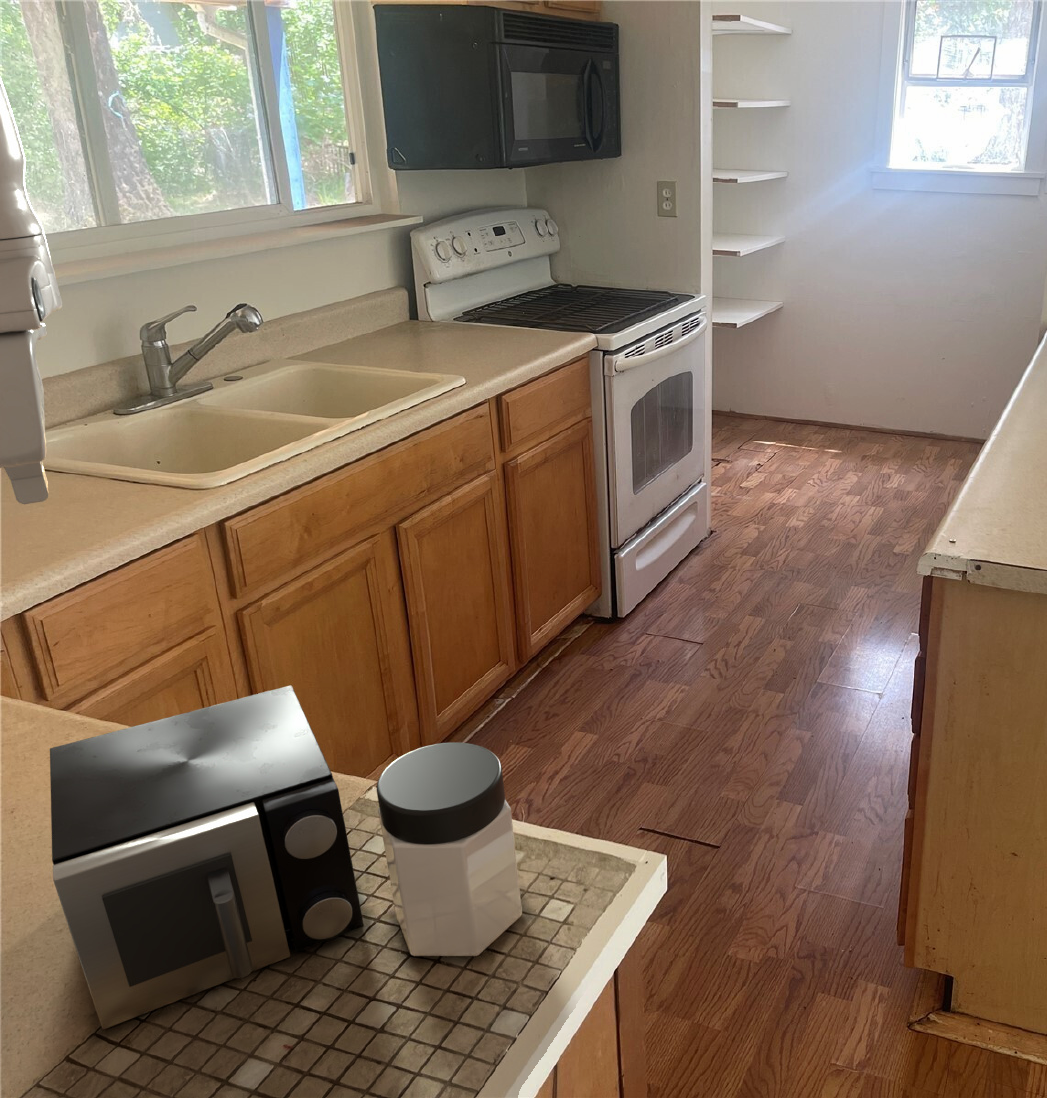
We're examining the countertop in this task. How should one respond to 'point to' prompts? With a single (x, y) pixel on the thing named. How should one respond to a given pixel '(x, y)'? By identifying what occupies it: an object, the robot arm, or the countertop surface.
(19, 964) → the countertop surface
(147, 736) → the oven
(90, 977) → the oven door
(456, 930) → the jar
